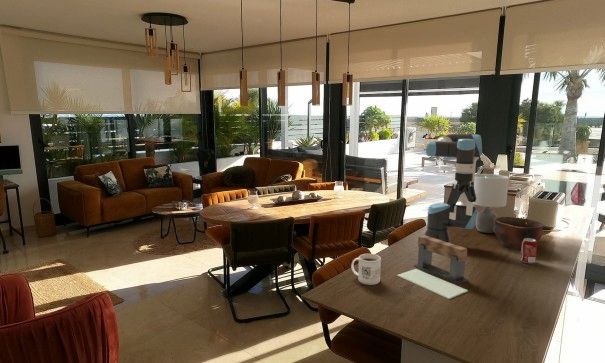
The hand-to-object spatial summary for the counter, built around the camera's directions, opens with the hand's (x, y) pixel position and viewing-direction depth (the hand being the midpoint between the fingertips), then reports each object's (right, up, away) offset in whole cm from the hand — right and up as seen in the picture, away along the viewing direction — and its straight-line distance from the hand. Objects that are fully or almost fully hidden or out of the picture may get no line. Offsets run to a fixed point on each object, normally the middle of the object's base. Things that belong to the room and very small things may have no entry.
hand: (460, 217), depth 179 cm
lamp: (+45, -16, +69) cm, 84 cm away
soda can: (+42, -25, +17) cm, 51 cm away
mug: (-45, -29, -4) cm, 53 cm away
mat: (-17, -29, -8) cm, 35 cm away
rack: (-9, -27, +3) cm, 29 cm away
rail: (-9, -17, +1) cm, 19 cm away
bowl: (+49, -21, +41) cm, 67 cm away
